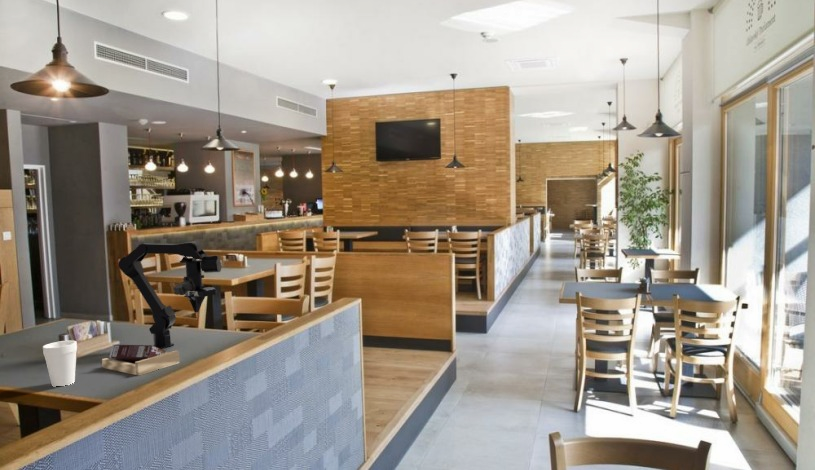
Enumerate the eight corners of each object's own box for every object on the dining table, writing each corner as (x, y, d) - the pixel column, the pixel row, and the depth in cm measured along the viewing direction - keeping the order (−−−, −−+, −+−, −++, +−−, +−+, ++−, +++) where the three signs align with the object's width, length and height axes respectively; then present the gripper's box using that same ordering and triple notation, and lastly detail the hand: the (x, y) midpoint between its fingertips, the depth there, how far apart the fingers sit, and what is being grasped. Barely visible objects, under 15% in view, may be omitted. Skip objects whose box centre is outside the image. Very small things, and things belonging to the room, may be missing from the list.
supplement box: (127, 349, 208) (166, 350, 204) (124, 363, 206) (163, 364, 202) (112, 343, 200) (152, 344, 197) (108, 357, 198) (148, 358, 195)
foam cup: (56, 380, 189) (52, 341, 188) (85, 378, 190) (82, 339, 189) (40, 389, 180) (36, 349, 179) (71, 387, 181) (67, 347, 180)
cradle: (102, 367, 202) (101, 355, 201) (143, 356, 215) (142, 344, 214) (138, 375, 190) (137, 362, 190) (179, 362, 203) (178, 350, 203)
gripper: (161, 275, 225) (164, 314, 226) (191, 277, 215) (194, 318, 216) (185, 271, 234) (188, 309, 235) (215, 273, 224) (218, 312, 225)
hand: (196, 312), depth 228 cm, fingers closed
